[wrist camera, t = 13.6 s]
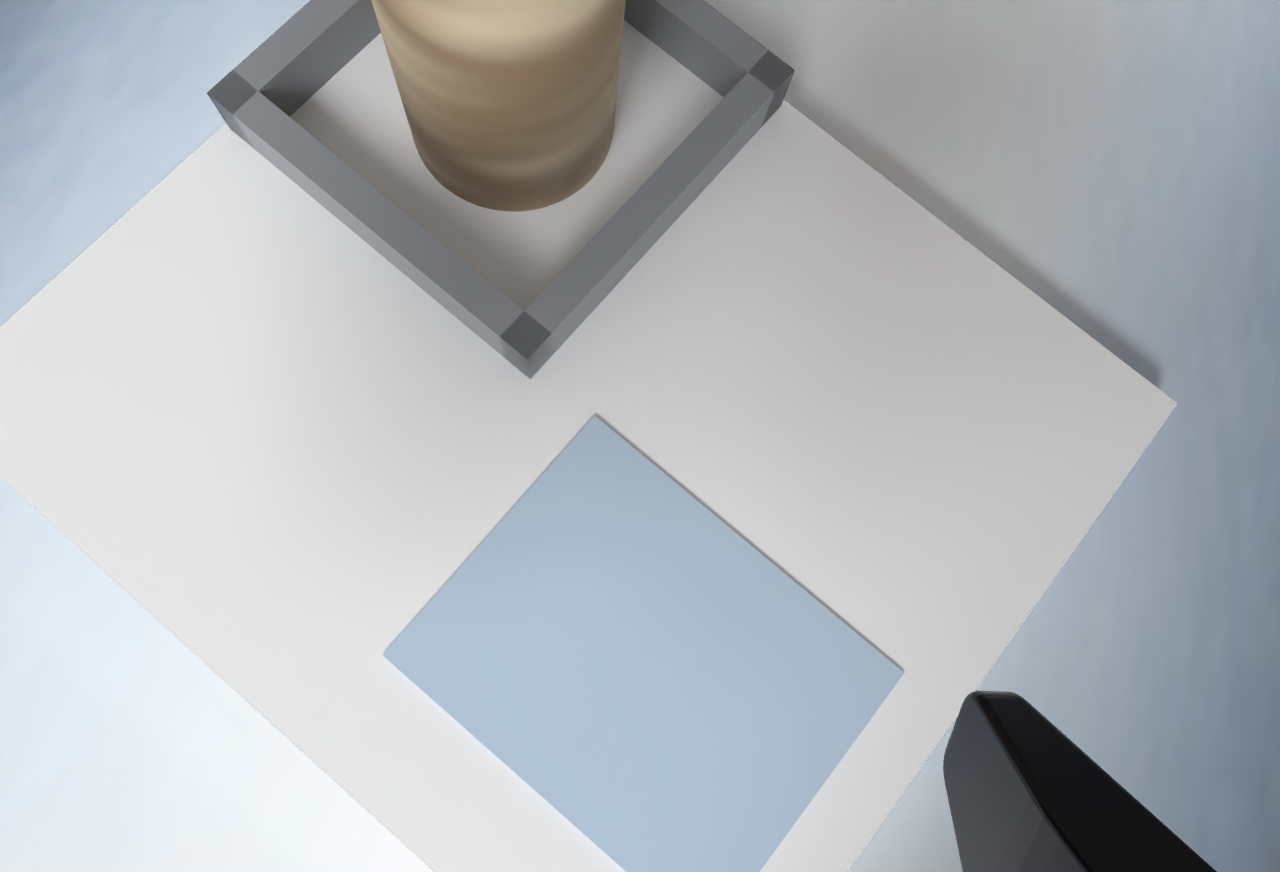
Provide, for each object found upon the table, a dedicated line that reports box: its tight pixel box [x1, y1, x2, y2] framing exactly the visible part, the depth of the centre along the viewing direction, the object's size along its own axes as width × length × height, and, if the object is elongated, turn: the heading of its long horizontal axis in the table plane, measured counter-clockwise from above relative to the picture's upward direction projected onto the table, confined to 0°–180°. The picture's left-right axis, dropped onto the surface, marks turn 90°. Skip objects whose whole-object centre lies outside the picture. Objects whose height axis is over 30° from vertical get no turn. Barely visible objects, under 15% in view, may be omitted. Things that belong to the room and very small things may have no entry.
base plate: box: [0, 0, 1178, 872], centre depth 22 cm, size 22×19×2 cm
